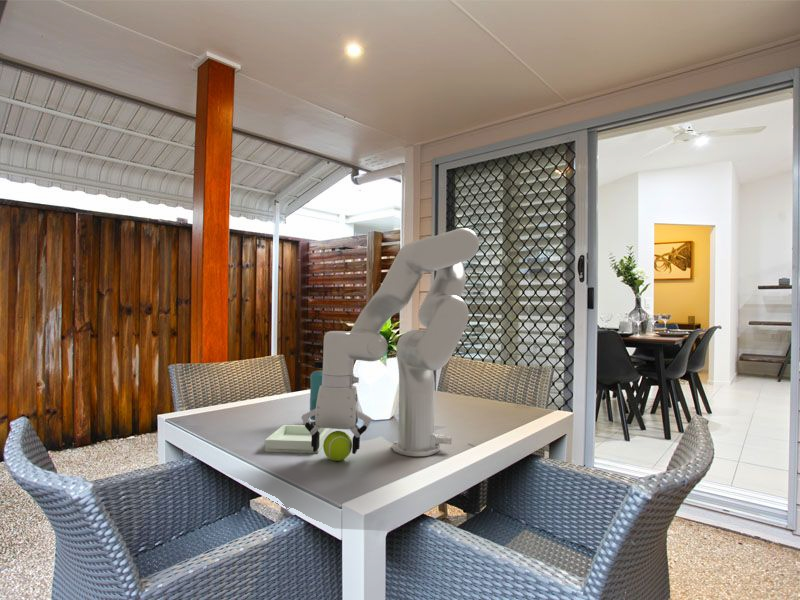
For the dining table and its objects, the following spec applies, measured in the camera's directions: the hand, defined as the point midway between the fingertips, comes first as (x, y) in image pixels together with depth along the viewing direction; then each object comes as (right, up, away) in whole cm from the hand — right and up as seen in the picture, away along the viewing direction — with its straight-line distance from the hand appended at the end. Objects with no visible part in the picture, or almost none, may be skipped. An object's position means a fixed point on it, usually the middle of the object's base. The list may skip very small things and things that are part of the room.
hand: (335, 450), depth 105 cm
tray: (-12, -2, +12) cm, 17 cm away
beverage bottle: (-10, -3, +33) cm, 35 cm away
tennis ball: (+1, -3, 0) cm, 3 cm away
